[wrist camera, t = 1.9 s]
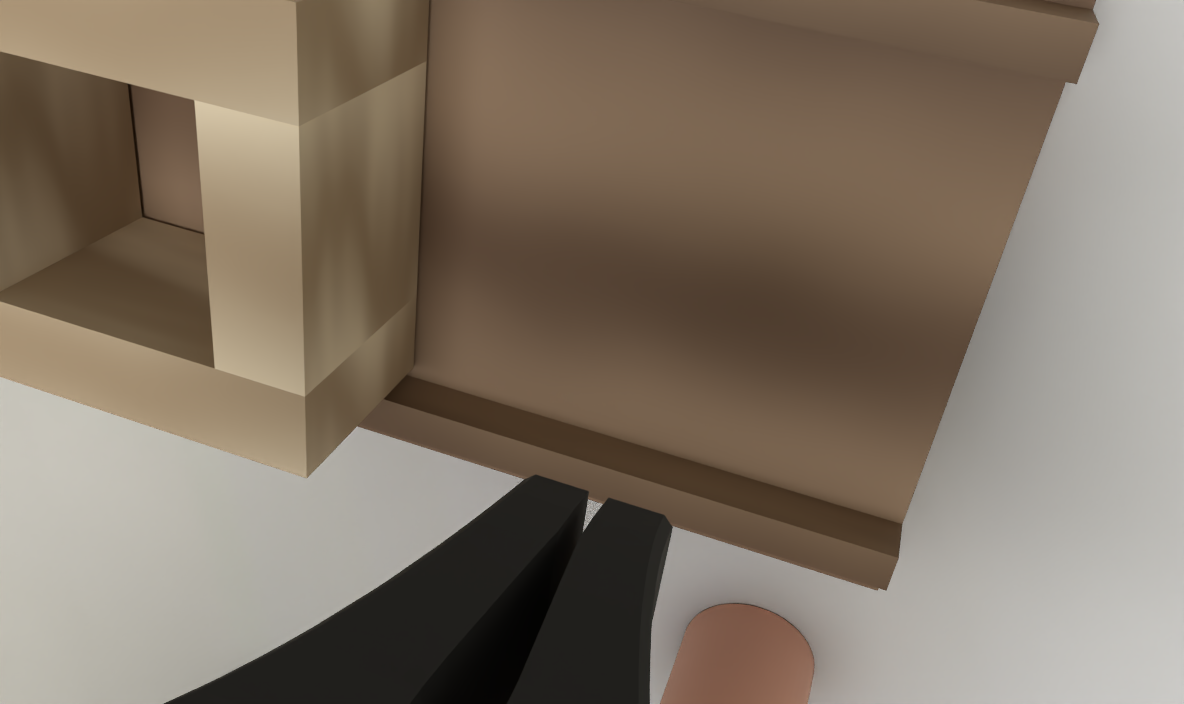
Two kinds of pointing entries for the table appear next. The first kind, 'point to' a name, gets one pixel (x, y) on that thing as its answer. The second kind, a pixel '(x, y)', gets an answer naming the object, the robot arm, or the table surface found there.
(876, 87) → the rail board
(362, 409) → the wooden square frame
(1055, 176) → the table surface
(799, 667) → the dowel
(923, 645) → the table surface
